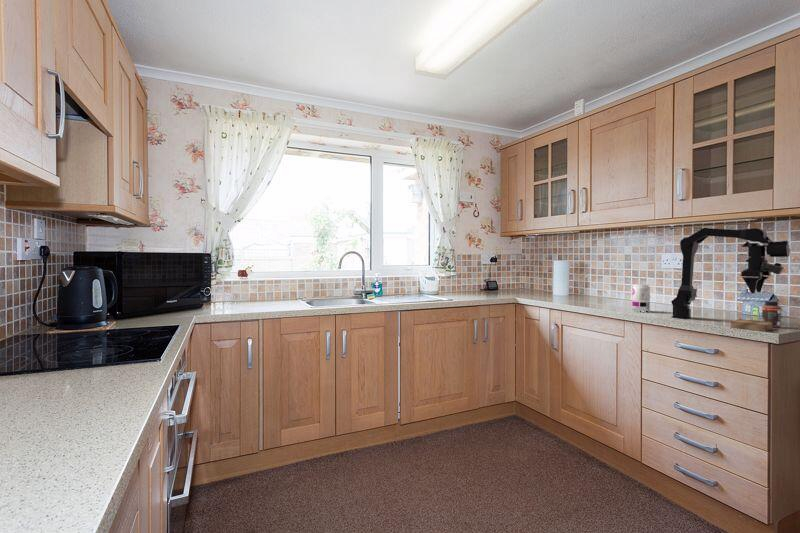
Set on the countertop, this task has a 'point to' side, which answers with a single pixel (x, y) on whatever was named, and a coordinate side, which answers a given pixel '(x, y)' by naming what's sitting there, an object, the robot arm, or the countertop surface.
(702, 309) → the countertop surface
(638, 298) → the supplement can
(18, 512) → the countertop surface
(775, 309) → the supplement bottle
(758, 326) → the trivet
